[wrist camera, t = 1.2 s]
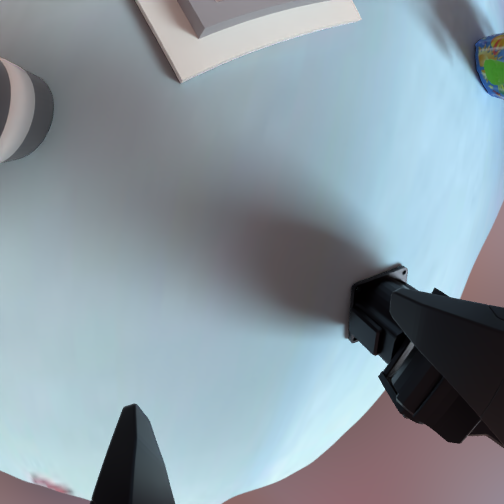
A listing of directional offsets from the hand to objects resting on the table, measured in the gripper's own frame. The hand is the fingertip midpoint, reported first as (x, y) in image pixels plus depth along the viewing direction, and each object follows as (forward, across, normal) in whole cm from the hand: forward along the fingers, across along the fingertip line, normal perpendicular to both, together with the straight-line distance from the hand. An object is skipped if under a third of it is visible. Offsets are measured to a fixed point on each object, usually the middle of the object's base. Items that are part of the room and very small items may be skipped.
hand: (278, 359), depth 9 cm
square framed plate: (+13, -7, -18) cm, 23 cm away
